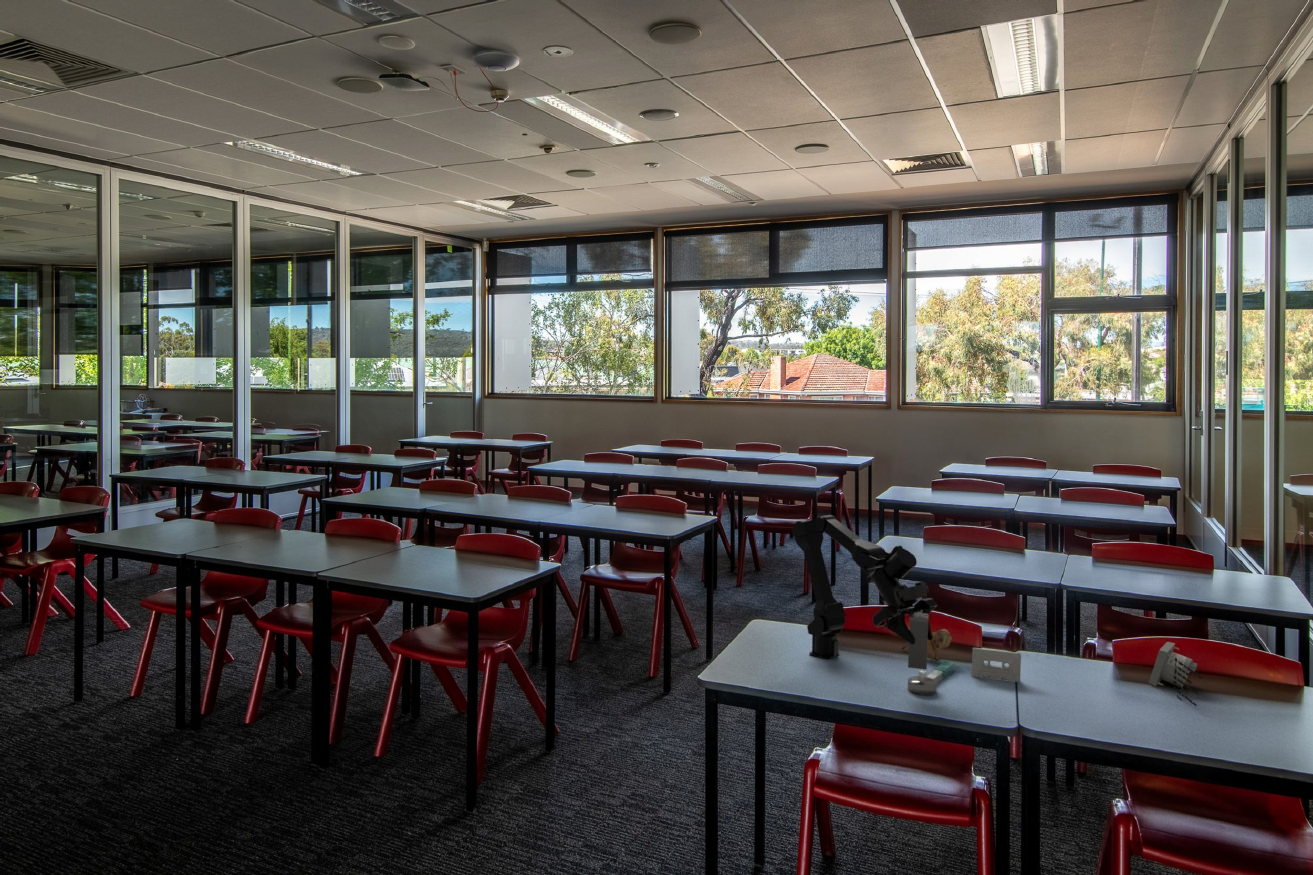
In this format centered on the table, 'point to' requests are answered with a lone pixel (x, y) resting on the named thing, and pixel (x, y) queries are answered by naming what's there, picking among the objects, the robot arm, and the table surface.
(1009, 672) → the cassette
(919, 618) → the charcoal square pillar
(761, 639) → the table surface
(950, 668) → the ratchet
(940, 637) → the lion figurine
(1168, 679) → the grey pronged block
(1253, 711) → the table surface
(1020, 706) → the table surface
